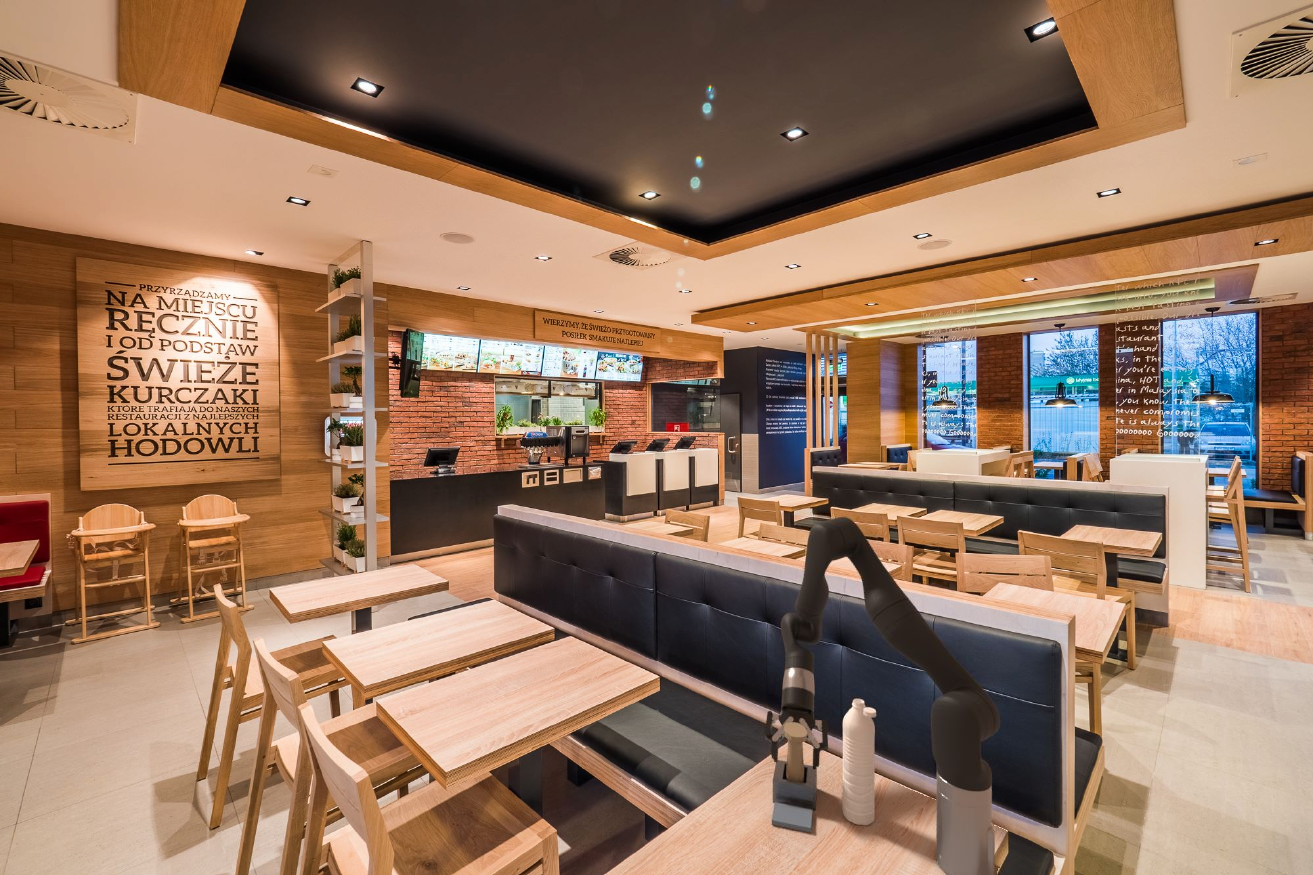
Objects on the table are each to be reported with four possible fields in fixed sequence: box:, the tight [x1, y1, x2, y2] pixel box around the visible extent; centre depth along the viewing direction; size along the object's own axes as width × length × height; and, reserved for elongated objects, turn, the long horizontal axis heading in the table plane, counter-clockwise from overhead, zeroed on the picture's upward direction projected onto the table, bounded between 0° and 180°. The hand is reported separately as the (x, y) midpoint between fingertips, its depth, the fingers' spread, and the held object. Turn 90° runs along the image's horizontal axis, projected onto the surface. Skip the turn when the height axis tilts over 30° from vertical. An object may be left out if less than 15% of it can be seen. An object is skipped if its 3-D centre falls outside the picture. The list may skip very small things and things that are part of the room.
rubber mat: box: [771, 802, 813, 834], centre depth 121 cm, size 8×6×1 cm
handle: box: [784, 722, 808, 783], centre depth 129 cm, size 5×6×15 cm
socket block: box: [772, 759, 818, 811], centre depth 129 cm, size 9×8×5 cm
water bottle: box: [841, 698, 877, 826], centre depth 121 cm, size 9×6×25 cm
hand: (794, 764), depth 128 cm, fingers open, 8 cm apart
